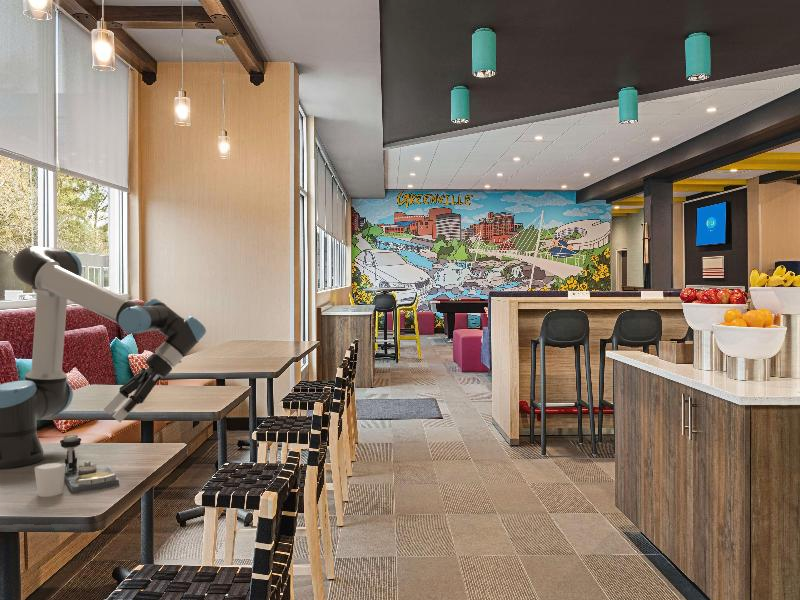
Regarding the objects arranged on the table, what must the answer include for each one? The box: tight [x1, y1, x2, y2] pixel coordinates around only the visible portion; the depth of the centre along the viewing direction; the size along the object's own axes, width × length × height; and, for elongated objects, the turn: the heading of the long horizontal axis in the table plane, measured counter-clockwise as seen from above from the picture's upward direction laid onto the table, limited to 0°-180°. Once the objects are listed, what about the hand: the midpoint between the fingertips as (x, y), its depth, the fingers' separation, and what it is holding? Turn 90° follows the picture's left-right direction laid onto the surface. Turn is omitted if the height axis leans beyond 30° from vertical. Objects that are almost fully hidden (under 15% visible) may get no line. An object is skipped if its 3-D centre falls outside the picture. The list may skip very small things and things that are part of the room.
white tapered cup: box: [33, 462, 66, 498], centre depth 161 cm, size 7×7×7 cm
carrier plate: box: [64, 461, 120, 494], centre depth 170 cm, size 15×11×4 cm
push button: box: [59, 434, 82, 473], centre depth 179 cm, size 7×5×10 cm
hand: (111, 415), depth 185 cm, fingers open, 13 cm apart
